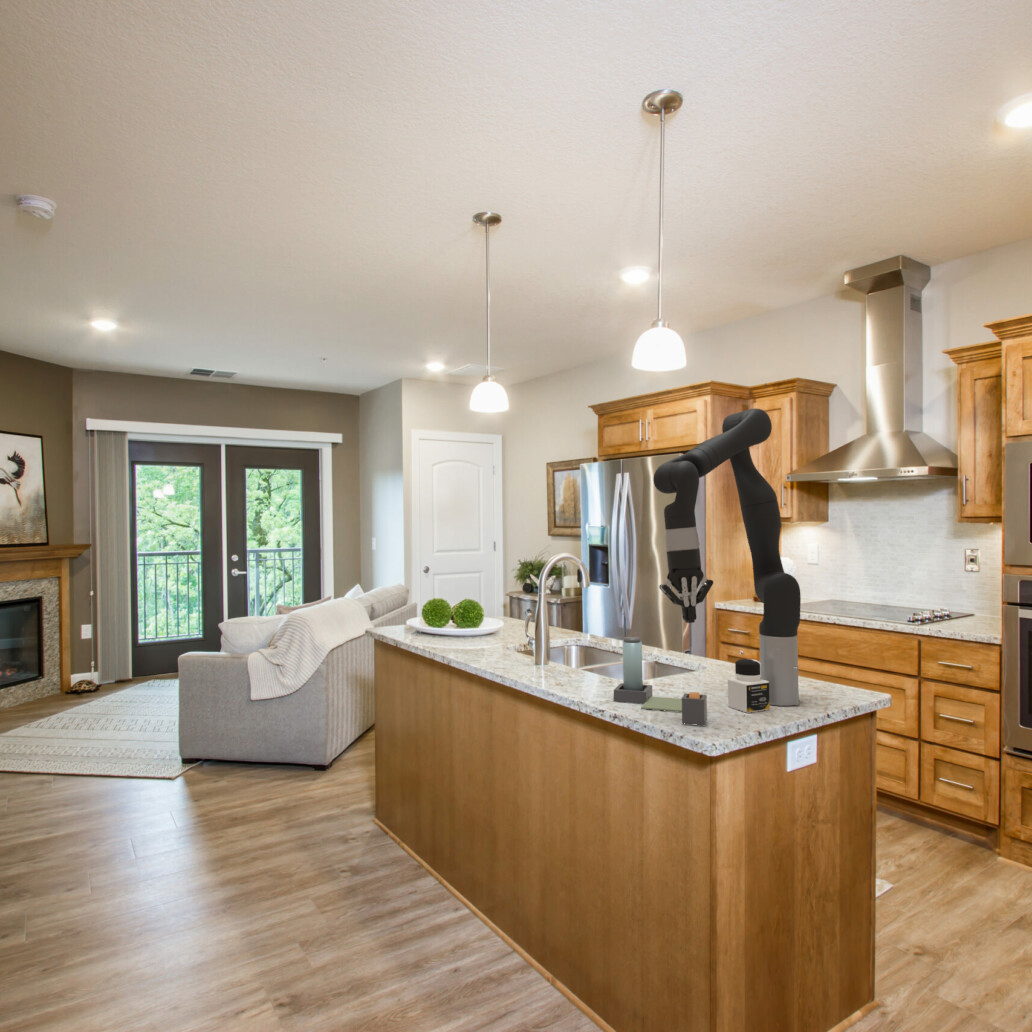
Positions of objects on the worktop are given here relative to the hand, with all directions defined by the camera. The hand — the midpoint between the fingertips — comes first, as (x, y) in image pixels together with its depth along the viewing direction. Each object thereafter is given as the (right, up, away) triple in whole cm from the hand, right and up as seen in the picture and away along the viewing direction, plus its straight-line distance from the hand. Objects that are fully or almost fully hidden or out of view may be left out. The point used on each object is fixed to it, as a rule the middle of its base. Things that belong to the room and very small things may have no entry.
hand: (689, 622), depth 169 cm
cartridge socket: (-9, -24, +23) cm, 34 cm away
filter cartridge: (-9, -24, +23) cm, 34 cm away
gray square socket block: (+1, -23, 0) cm, 23 cm away
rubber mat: (-1, -23, +16) cm, 28 cm away
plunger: (+1, -22, 0) cm, 22 cm away
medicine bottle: (+17, -23, +12) cm, 31 cm away
